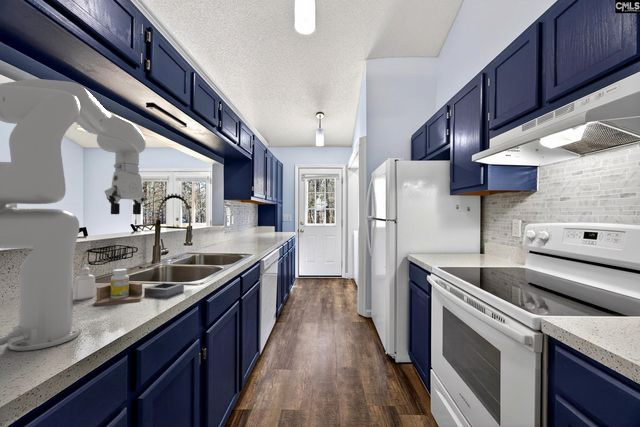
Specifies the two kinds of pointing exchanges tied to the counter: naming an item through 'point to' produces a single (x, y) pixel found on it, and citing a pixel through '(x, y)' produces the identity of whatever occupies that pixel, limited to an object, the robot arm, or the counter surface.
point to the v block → (106, 299)
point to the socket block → (163, 290)
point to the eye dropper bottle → (84, 284)
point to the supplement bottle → (119, 284)
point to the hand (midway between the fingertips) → (126, 214)
